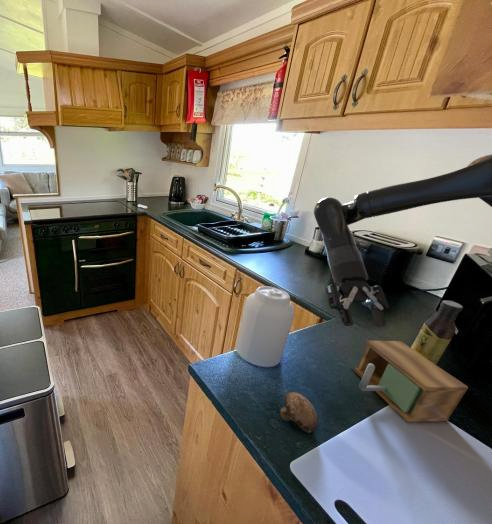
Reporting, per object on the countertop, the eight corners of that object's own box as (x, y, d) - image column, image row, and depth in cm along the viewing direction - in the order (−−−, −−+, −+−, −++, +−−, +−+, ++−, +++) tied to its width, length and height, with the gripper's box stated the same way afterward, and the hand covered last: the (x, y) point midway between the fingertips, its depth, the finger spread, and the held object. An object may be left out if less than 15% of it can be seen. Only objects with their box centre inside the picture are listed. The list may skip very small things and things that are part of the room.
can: (258, 337, 91) (272, 279, 84) (290, 363, 80) (310, 299, 73) (226, 344, 86) (238, 284, 79) (255, 373, 75) (273, 306, 68)
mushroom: (268, 404, 62) (293, 390, 59) (278, 397, 68) (301, 384, 65) (294, 444, 58) (322, 431, 55) (302, 432, 64) (327, 420, 61)
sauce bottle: (404, 351, 89) (432, 294, 82) (431, 359, 86) (462, 301, 79) (409, 363, 84) (440, 304, 77) (438, 372, 81) (472, 311, 74)
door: (377, 412, 64) (392, 383, 61) (352, 386, 71) (364, 359, 68) (407, 412, 65) (423, 383, 62) (379, 386, 72) (392, 359, 69)
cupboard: (407, 421, 64) (426, 387, 61) (353, 370, 79) (366, 340, 76) (447, 421, 65) (468, 387, 62) (386, 370, 80) (401, 341, 76)
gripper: (331, 258, 73) (350, 322, 67) (382, 260, 75) (405, 323, 68) (312, 269, 80) (327, 328, 74) (359, 271, 81) (378, 329, 75)
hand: (365, 325), depth 71 cm, fingers open, 8 cm apart
